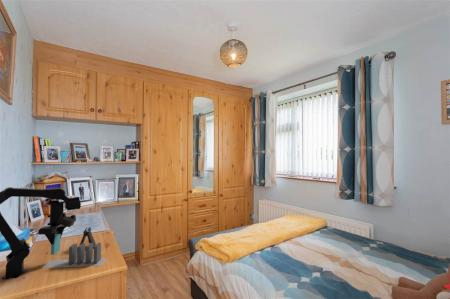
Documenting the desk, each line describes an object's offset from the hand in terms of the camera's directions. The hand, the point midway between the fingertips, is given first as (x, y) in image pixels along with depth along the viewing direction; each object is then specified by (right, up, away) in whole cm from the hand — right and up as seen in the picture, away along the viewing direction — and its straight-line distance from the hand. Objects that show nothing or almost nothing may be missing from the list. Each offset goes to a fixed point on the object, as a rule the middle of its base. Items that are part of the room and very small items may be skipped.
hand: (55, 242), depth 119 cm
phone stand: (+4, -12, +20) cm, 23 cm away
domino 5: (+20, -11, +2) cm, 23 cm away
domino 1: (0, -5, 0) cm, 5 cm away
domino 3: (+12, -11, +1) cm, 17 cm away
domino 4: (+16, -11, +2) cm, 20 cm away
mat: (+10, -12, +1) cm, 15 cm away
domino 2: (+8, -11, +1) cm, 14 cm away
